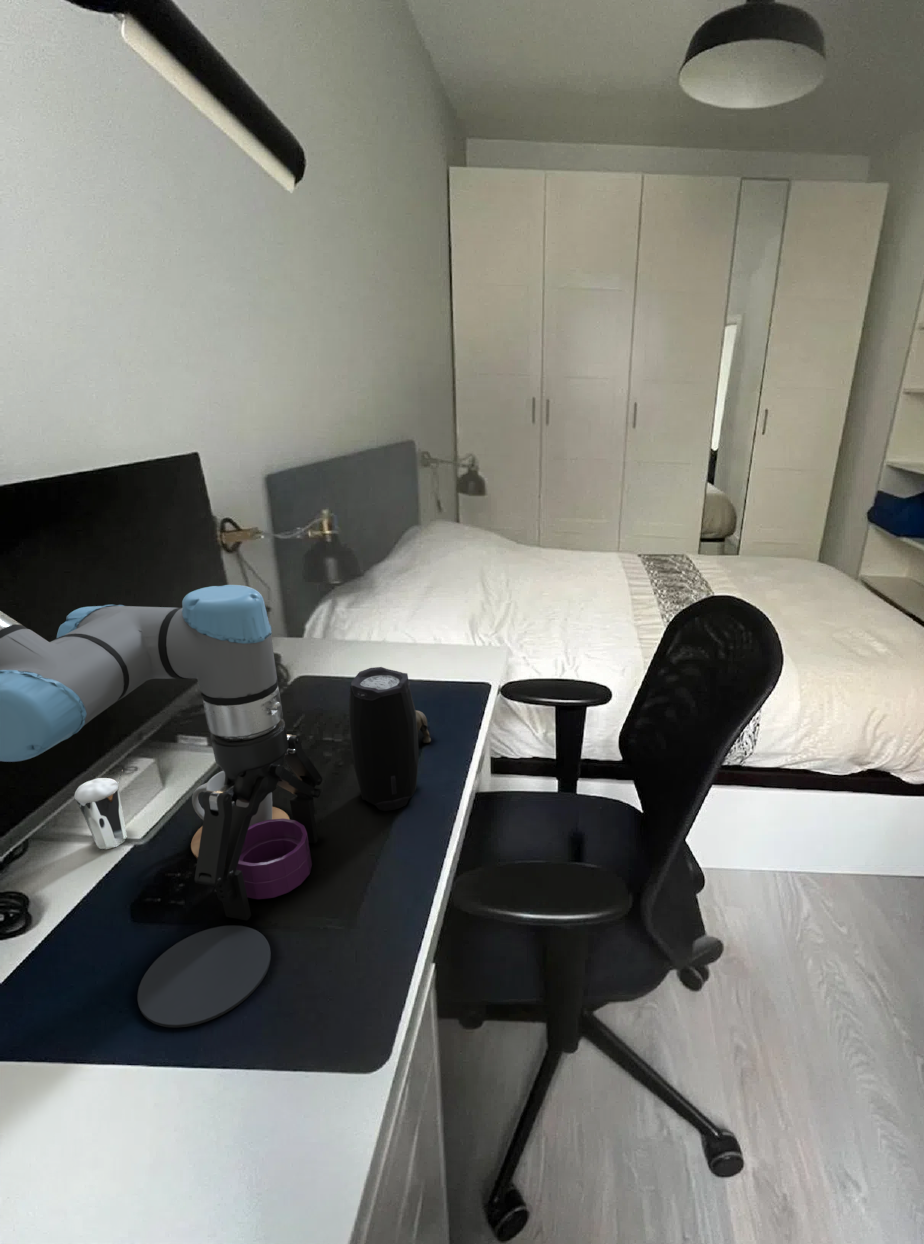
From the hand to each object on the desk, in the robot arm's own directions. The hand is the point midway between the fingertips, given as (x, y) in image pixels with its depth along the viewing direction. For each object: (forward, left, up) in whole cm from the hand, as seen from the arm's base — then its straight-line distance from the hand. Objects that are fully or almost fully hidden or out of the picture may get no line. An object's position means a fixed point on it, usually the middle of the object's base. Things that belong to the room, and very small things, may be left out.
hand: (275, 875), depth 78 cm
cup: (-9, +6, 0) cm, 11 cm away
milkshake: (-24, +1, 0) cm, 24 cm away
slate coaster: (+2, -14, 0) cm, 14 cm away
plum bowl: (0, 0, 0) cm, 0 cm away
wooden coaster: (-9, +6, 0) cm, 11 cm away
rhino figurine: (-1, +36, 0) cm, 36 cm away
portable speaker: (+6, +19, 0) cm, 20 cm away
